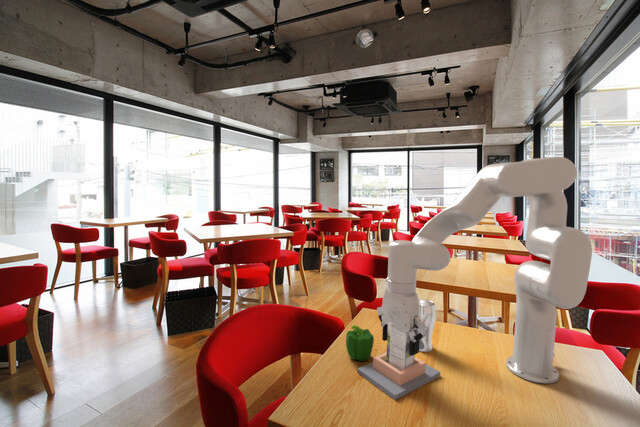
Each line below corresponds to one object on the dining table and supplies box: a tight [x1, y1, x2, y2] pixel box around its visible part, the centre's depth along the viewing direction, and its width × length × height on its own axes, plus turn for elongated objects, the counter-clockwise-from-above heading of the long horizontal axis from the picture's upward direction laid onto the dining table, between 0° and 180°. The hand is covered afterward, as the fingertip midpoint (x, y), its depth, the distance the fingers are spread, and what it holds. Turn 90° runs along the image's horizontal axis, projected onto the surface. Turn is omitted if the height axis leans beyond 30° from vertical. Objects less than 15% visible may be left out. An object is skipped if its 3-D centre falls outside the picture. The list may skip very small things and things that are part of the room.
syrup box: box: [386, 321, 416, 371], centre depth 90 cm, size 6×6×14 cm
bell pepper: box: [345, 324, 375, 362], centre depth 100 cm, size 8×8×10 cm
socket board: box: [357, 351, 441, 401], centre depth 91 cm, size 18×14×4 cm
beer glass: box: [418, 298, 436, 353], centre depth 106 cm, size 7×7×15 cm
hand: (399, 346), depth 91 cm, fingers open, 9 cm apart
